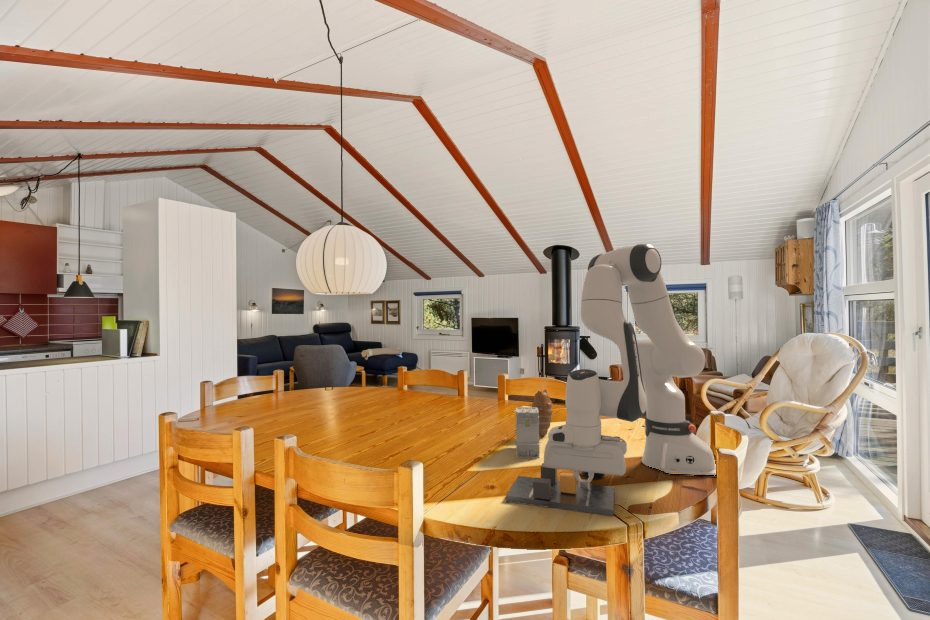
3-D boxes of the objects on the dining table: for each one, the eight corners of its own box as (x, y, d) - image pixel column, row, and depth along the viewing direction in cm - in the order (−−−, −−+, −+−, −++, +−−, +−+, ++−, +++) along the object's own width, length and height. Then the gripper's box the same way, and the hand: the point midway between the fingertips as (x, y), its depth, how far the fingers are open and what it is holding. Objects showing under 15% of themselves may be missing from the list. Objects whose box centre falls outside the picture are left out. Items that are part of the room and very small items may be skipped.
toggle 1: (557, 478, 122) (556, 464, 122) (555, 482, 119) (555, 468, 119) (542, 477, 123) (542, 462, 123) (540, 481, 120) (540, 466, 120)
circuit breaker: (536, 444, 159) (536, 403, 159) (539, 458, 144) (538, 412, 144) (516, 444, 159) (515, 403, 159) (516, 457, 145) (516, 412, 145)
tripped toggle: (576, 489, 115) (576, 473, 115) (575, 493, 112) (575, 478, 112) (561, 487, 116) (561, 472, 116) (559, 491, 113) (559, 476, 113)
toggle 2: (551, 494, 111) (550, 479, 111) (549, 499, 109) (548, 483, 109) (535, 492, 113) (535, 477, 113) (533, 497, 110) (532, 481, 110)
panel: (614, 492, 117) (614, 486, 117) (613, 516, 103) (613, 508, 103) (518, 481, 125) (518, 475, 125) (506, 501, 112) (506, 494, 112)
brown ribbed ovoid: (544, 440, 163) (543, 392, 163) (527, 436, 169) (526, 390, 169) (557, 435, 170) (556, 389, 170) (540, 431, 175) (539, 386, 175)
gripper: (626, 433, 112) (627, 487, 112) (545, 427, 119) (546, 478, 119) (626, 440, 106) (627, 498, 106) (542, 434, 113) (542, 487, 113)
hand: (584, 487), depth 112 cm, fingers closed
